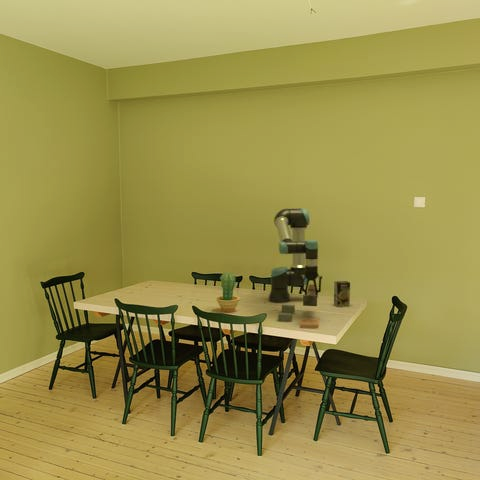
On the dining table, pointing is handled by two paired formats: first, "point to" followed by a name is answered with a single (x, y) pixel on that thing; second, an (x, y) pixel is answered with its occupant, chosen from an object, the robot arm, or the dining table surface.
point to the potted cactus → (228, 293)
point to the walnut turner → (310, 297)
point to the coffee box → (341, 293)
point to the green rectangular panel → (309, 323)
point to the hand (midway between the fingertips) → (311, 302)
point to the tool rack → (286, 313)
